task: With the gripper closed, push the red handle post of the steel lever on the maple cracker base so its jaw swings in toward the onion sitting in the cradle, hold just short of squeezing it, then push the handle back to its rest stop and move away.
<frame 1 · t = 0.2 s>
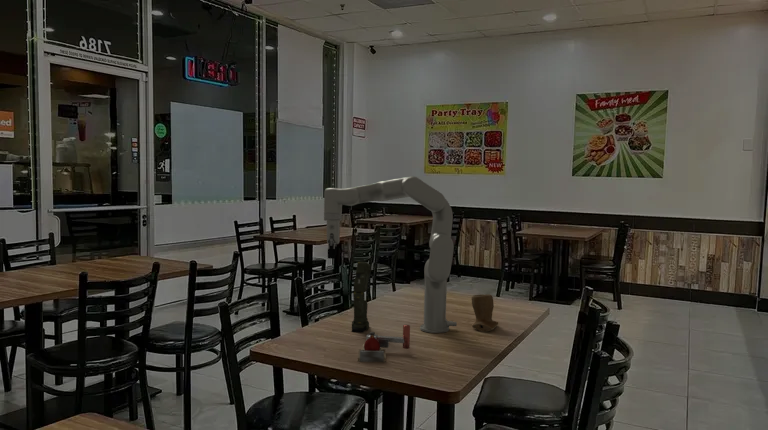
hand: (332, 256, 244), 31 cm above the table, tool pointing down, fingers open, 9 cm apart
lever: (388, 335, 214), point 6 cm above the table, hinge at 10.0°
mechanical leg: (360, 328, 247), on the table
cracker base: (371, 350, 216), on the table
onion: (371, 357, 208), resting in cracker base
brown boot: (483, 328, 252), on the table
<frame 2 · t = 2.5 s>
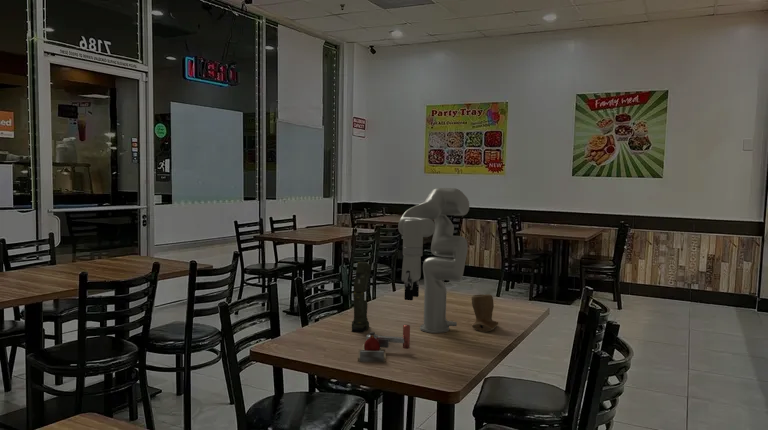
hand: (411, 297, 218), 20 cm above the table, tool pointing down, fingers open, 6 cm apart
nothing on the table moved.
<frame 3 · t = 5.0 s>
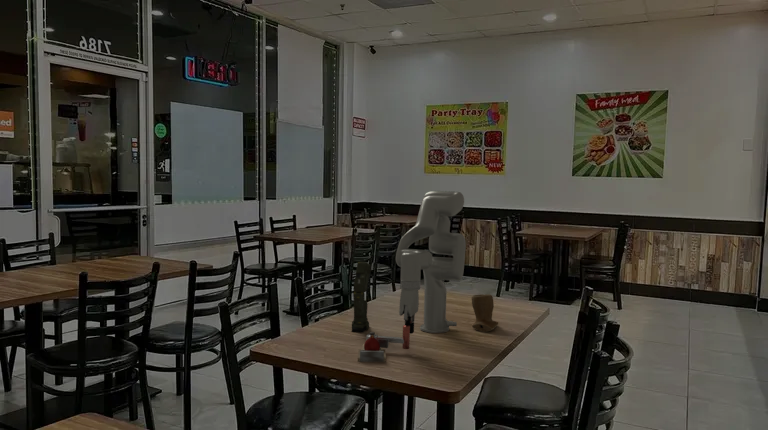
hand: (409, 332, 216), 7 cm above the table, tool pointing down, fingers closed
lever: (387, 335, 214), point 6 cm above the table, hinge at 12.5°, touching gripper
everything else where it was.
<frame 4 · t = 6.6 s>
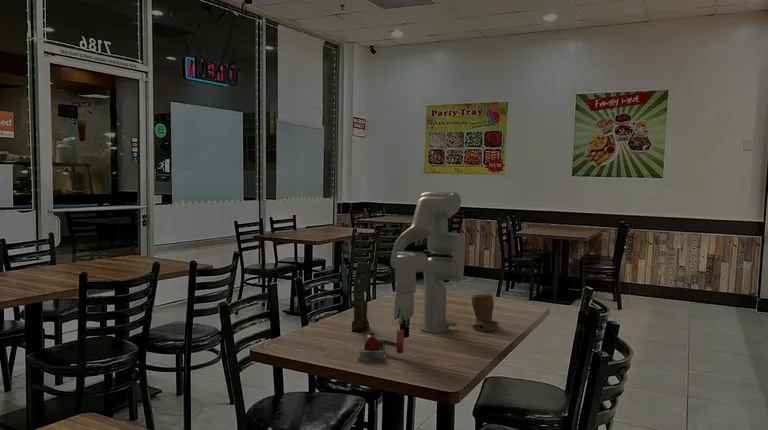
hand: (404, 336, 211), 7 cm above the table, tool pointing down, fingers closed
lever: (384, 337, 212), point 6 cm above the table, hinge at 38.1°, touching gripper
everything else where it was.
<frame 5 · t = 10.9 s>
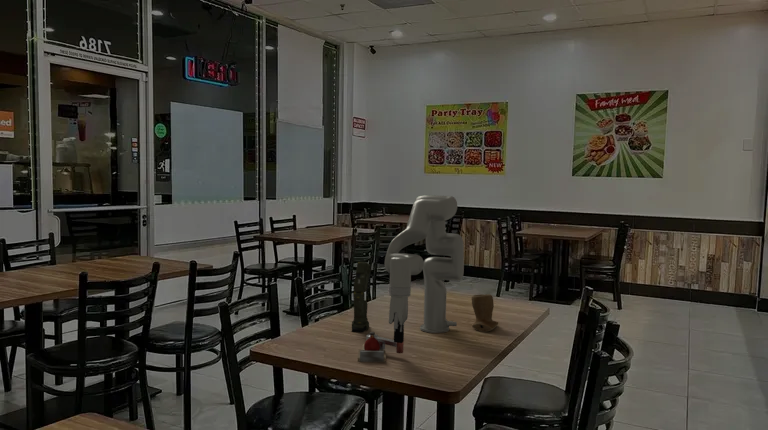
hand: (398, 342, 204), 7 cm above the table, tool pointing down, fingers closed
nothing on the table moved.
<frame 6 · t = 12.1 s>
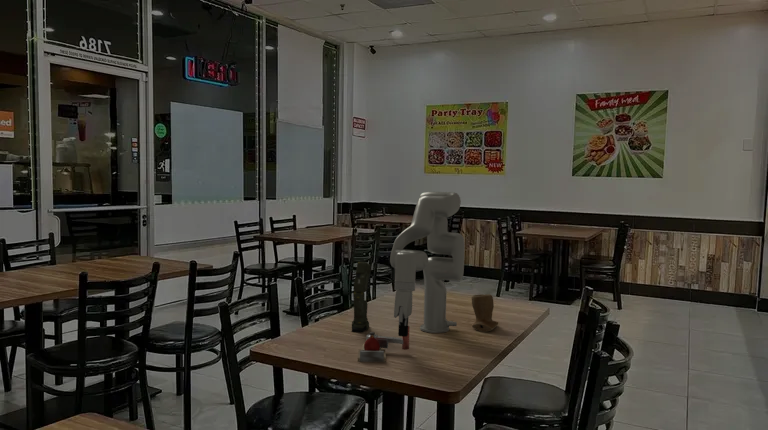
hand: (403, 335, 209), 8 cm above the table, tool pointing down, fingers closed
lever: (387, 335, 214), point 6 cm above the table, hinge at 15.8°, touching gripper
everything else where it was.
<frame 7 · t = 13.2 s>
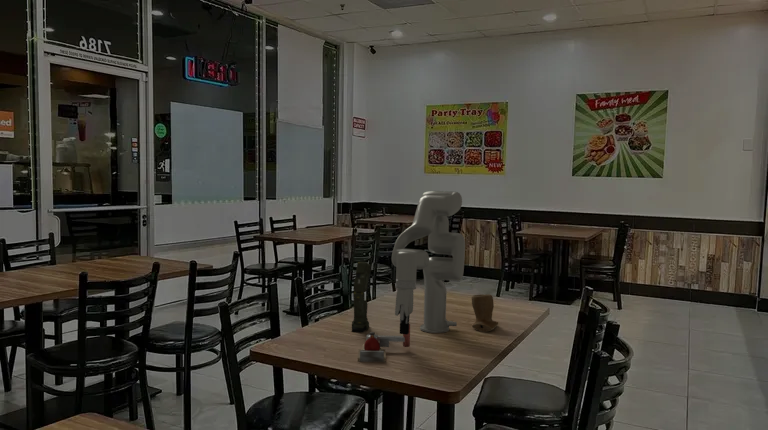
hand: (404, 333, 212), 8 cm above the table, tool pointing down, fingers closed
lever: (388, 334, 215), point 6 cm above the table, hinge at 1.2°, touching gripper
everything else where it was.
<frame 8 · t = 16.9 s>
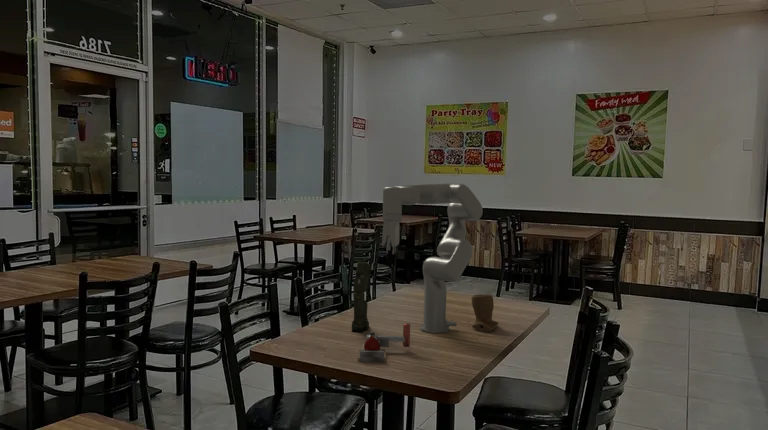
hand: (391, 263, 227), 31 cm above the table, tool pointing down, fingers closed
lever: (388, 334, 215), point 6 cm above the table, hinge at 1.0°
everything else where it was.
at the end: lever at +1° (first picture: +10°); onion moved 0.2 cm from its start; lever touching nothing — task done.
